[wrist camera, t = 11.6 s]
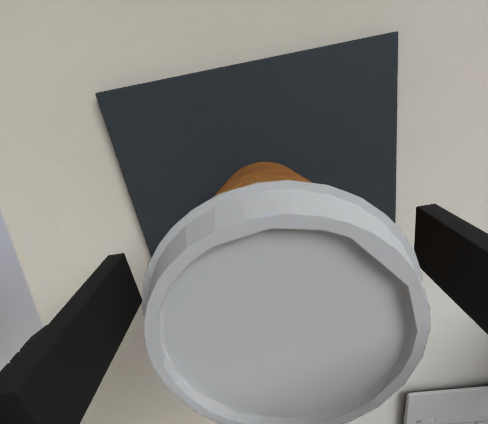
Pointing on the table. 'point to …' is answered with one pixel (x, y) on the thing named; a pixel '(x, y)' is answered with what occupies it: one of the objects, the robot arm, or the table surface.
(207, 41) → the table surface
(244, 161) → the mat
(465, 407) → the laptop
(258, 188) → the disposable coffee cup
